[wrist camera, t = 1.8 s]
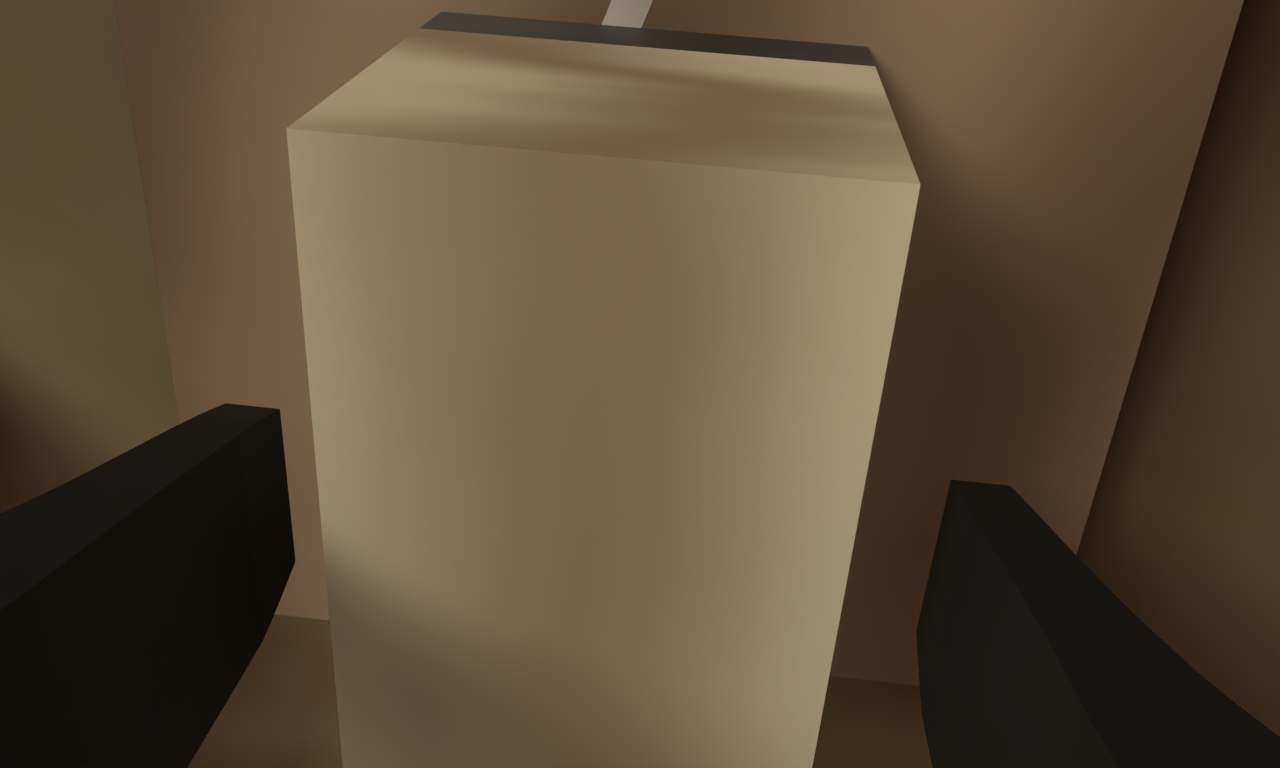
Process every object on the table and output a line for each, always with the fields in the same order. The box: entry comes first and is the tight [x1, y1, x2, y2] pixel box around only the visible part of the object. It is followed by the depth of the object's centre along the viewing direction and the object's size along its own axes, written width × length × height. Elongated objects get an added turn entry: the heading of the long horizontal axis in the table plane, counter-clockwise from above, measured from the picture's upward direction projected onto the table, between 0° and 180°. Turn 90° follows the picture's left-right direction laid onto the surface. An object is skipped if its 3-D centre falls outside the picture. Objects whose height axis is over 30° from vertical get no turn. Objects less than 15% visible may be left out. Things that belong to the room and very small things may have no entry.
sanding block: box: [286, 12, 921, 768], centre depth 13 cm, size 5×9×5 cm, turn 176°
